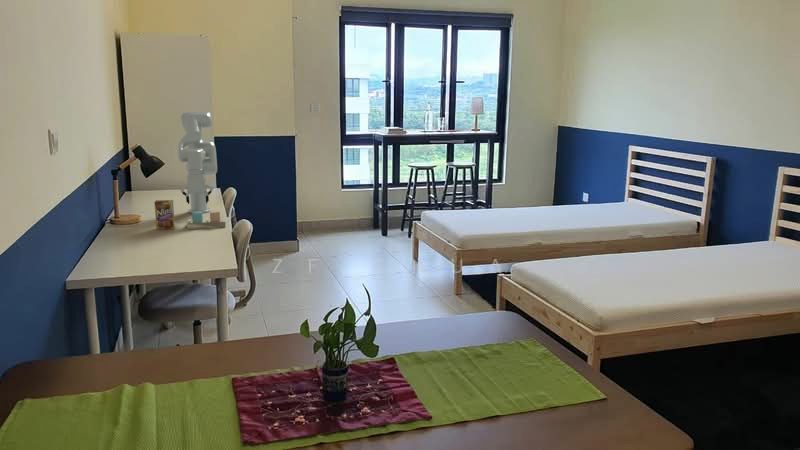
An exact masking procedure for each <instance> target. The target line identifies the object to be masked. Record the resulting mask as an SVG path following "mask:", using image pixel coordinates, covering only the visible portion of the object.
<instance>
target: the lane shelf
mask: <svg viewBox="0 0 800 450" xmlns="http://www.w3.org/2000/svg"><path fill="white" fill-rule="evenodd" d="M204 220H205V221H203V222H199V223H193V222H191V221H192V219H187V222H186V229H187V230H191V229H193V230H194V229H212V228H213V229H214V228H215V229H217V228H226V225H227V223H226V221H227V220H226V217H223V218H222V221H221V220H220V222H210V221H209V218H205V219H204Z"/></svg>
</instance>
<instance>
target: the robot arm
mask: <svg viewBox="0 0 800 450" xmlns="http://www.w3.org/2000/svg"><path fill="white" fill-rule="evenodd" d="M180 121H181V124H182V127H183V129H184V132H185V135H183V137H182V138H180V140H179V143H178V146H177V148H178V152H177V153H178V155H177V156H178V159H179V161H180V162H182V163H186V173H187V176H186V185H184V186H183V187H181V188H180V190H179V191H180V192H181V193H182V195H183V196H185V198H186V199H185V202H186V203H187V205H190V209H188V213H190V214H192V212H196V211H202V214H203V213H210V211H211V208H210V207H208V202H210V200H209V199H210V198H209V196H210V195H211V193H212V192H213V190H214V187H213V186H211V185H209V184H207V181H206V176H210V175H211V176H212V175H216V174H217V173H218V159H217V149H216V144H215V143H214V142H213V141H203V133H202V129H203V128H211V127H212V125H213V116H212V113H211V112H210V111H184V112H182V113H181V115H180ZM185 147H187V148H185ZM207 189H209V191H207ZM185 190H186V191H187V192H186V191H185Z"/></svg>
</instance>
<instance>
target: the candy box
mask: <svg viewBox="0 0 800 450" xmlns="http://www.w3.org/2000/svg"><path fill="white" fill-rule="evenodd" d="M153 204H154V214H155V215H154V217H155V224H156V225H155V228H156V230H174V229H176V222H175V207H174V200H173V199H169V200H167V199H166V200H165V199H161V200H160V199H159V200H158V199H156V200H155V201H154V203H153Z"/></svg>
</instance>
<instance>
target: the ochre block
mask: <svg viewBox="0 0 800 450" xmlns="http://www.w3.org/2000/svg"><path fill="white" fill-rule="evenodd" d="M209 218H210V219H209V220H210V221H209V222H220V221H221V210H210V211H209Z"/></svg>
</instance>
